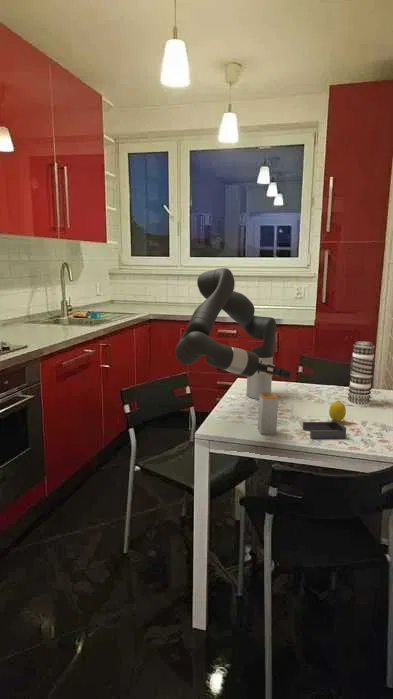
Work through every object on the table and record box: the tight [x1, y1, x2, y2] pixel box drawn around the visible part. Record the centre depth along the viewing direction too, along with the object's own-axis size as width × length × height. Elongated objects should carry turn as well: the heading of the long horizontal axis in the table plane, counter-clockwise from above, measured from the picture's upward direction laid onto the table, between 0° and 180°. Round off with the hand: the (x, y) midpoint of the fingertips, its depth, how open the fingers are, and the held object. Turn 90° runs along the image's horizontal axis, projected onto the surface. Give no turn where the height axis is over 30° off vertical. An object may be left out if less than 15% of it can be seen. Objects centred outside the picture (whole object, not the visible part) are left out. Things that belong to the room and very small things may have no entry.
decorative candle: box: [347, 340, 376, 408], centre depth 180 cm, size 9×9×25 cm
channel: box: [301, 419, 347, 440], centre depth 148 cm, size 11×9×4 cm
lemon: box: [328, 400, 347, 422], centre depth 159 cm, size 6×6×8 cm
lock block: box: [257, 392, 279, 436], centre depth 148 cm, size 5×5×13 cm
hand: (281, 373), depth 142 cm, fingers open, 8 cm apart
